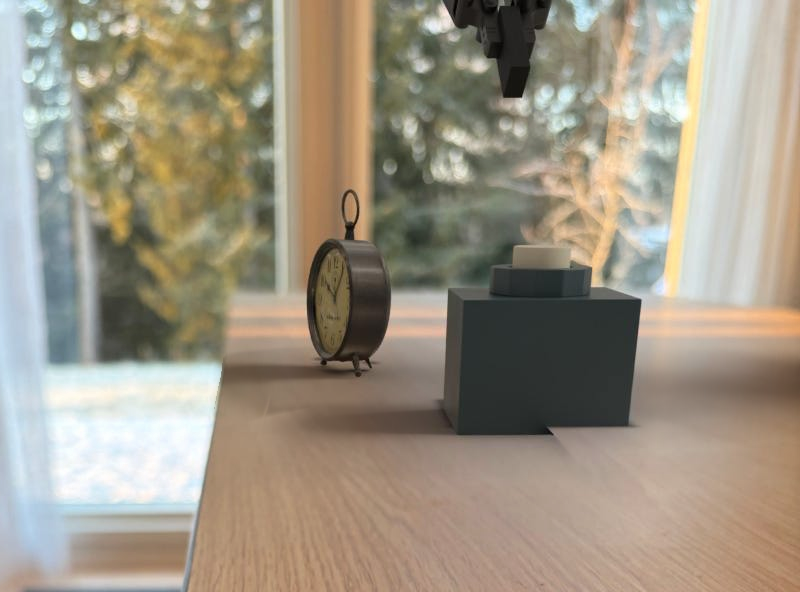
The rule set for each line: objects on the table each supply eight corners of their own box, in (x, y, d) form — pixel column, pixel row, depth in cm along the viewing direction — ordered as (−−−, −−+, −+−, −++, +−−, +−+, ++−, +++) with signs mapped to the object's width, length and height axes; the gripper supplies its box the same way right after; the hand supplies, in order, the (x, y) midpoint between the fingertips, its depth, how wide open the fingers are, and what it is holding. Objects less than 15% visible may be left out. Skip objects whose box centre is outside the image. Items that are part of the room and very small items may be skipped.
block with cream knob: (594, 408, 84) (608, 261, 79) (627, 435, 74) (645, 270, 70) (443, 409, 84) (448, 262, 79) (457, 436, 74) (464, 271, 70)
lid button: (562, 270, 77) (564, 244, 76) (574, 274, 73) (577, 247, 72) (507, 270, 77) (509, 244, 76) (517, 274, 73) (518, 247, 72)
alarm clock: (303, 365, 106) (302, 189, 100) (353, 362, 108) (354, 189, 101) (346, 381, 97) (347, 188, 90) (399, 377, 98) (404, 188, 92)
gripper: (543, -76, 92) (586, 123, 84) (396, -78, 91) (424, 124, 83) (566, -169, 85) (616, 38, 77) (407, -173, 84) (439, 37, 76)
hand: (516, 82), depth 80 cm, fingers closed
